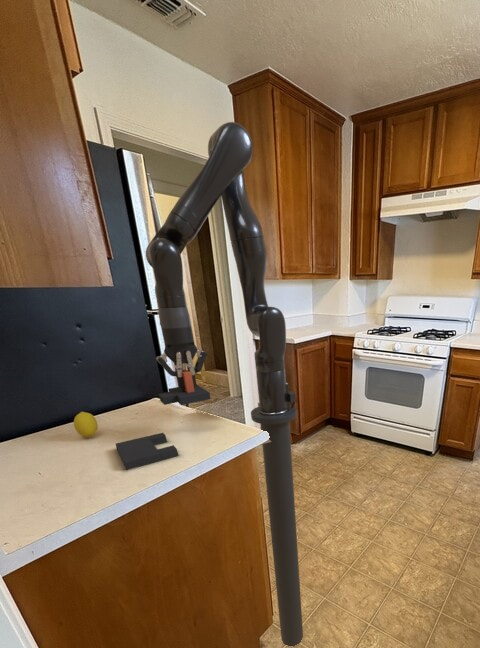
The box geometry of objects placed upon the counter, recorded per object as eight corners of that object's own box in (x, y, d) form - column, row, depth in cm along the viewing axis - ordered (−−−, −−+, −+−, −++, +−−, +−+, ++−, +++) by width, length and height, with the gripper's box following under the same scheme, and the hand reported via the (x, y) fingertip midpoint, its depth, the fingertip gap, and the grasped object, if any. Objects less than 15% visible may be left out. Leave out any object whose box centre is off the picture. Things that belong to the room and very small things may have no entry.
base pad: (164, 438, 101) (163, 432, 100) (178, 456, 90) (176, 448, 89) (117, 450, 94) (115, 443, 93) (126, 470, 84) (124, 462, 83)
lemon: (74, 440, 101) (65, 414, 98) (91, 433, 106) (83, 407, 103) (88, 442, 99) (80, 415, 96) (105, 434, 104) (98, 409, 101)
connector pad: (197, 390, 107) (192, 365, 105) (210, 399, 99) (206, 372, 96) (157, 397, 101) (151, 372, 98) (167, 408, 92) (161, 380, 89)
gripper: (151, 329, 87) (166, 396, 93) (206, 324, 94) (216, 386, 101) (145, 326, 92) (159, 390, 99) (197, 322, 100) (207, 381, 106)
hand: (188, 388), depth 100 cm, fingers closed on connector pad
